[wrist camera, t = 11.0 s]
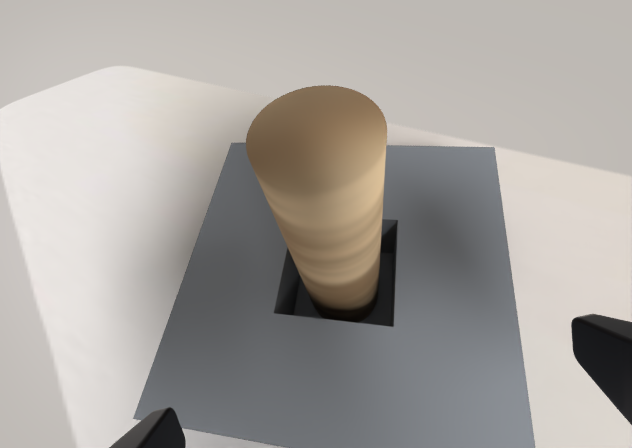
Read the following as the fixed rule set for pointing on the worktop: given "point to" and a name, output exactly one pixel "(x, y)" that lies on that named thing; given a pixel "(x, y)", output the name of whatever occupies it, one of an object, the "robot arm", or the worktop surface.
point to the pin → (326, 191)
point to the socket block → (349, 337)
